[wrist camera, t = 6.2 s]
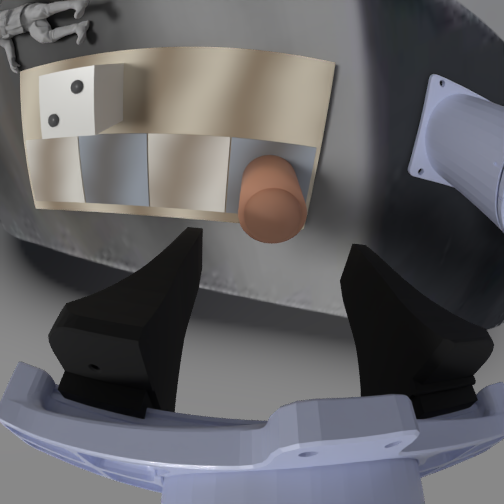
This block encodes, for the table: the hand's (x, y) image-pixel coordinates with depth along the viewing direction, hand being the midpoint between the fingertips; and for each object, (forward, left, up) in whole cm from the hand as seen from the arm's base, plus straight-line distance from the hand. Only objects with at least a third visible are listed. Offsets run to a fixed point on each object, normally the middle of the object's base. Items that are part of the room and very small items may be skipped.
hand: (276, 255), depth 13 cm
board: (+8, -3, -9) cm, 13 cm away
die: (+12, -6, -9) cm, 16 cm away
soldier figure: (+19, -12, -10) cm, 24 cm away
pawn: (0, 0, -8) cm, 8 cm away
